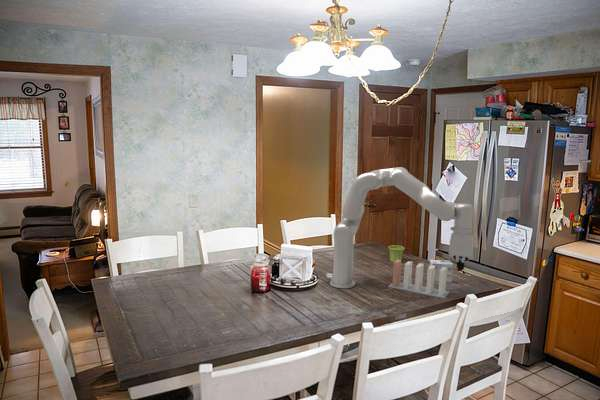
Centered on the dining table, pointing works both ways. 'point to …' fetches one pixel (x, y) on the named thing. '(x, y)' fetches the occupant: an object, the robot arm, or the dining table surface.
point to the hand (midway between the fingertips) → (460, 270)
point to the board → (422, 291)
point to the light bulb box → (439, 265)
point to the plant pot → (395, 252)
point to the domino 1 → (396, 273)
